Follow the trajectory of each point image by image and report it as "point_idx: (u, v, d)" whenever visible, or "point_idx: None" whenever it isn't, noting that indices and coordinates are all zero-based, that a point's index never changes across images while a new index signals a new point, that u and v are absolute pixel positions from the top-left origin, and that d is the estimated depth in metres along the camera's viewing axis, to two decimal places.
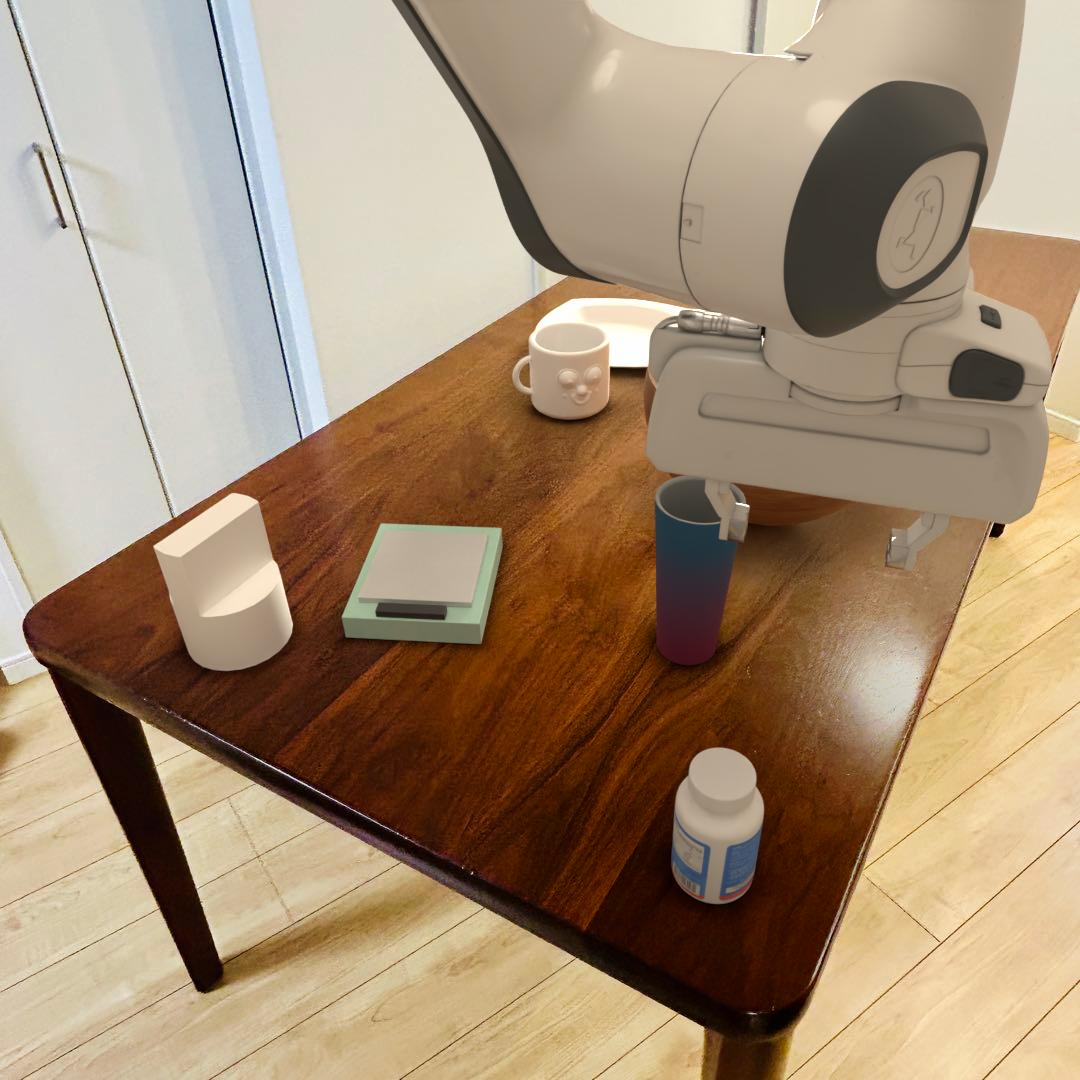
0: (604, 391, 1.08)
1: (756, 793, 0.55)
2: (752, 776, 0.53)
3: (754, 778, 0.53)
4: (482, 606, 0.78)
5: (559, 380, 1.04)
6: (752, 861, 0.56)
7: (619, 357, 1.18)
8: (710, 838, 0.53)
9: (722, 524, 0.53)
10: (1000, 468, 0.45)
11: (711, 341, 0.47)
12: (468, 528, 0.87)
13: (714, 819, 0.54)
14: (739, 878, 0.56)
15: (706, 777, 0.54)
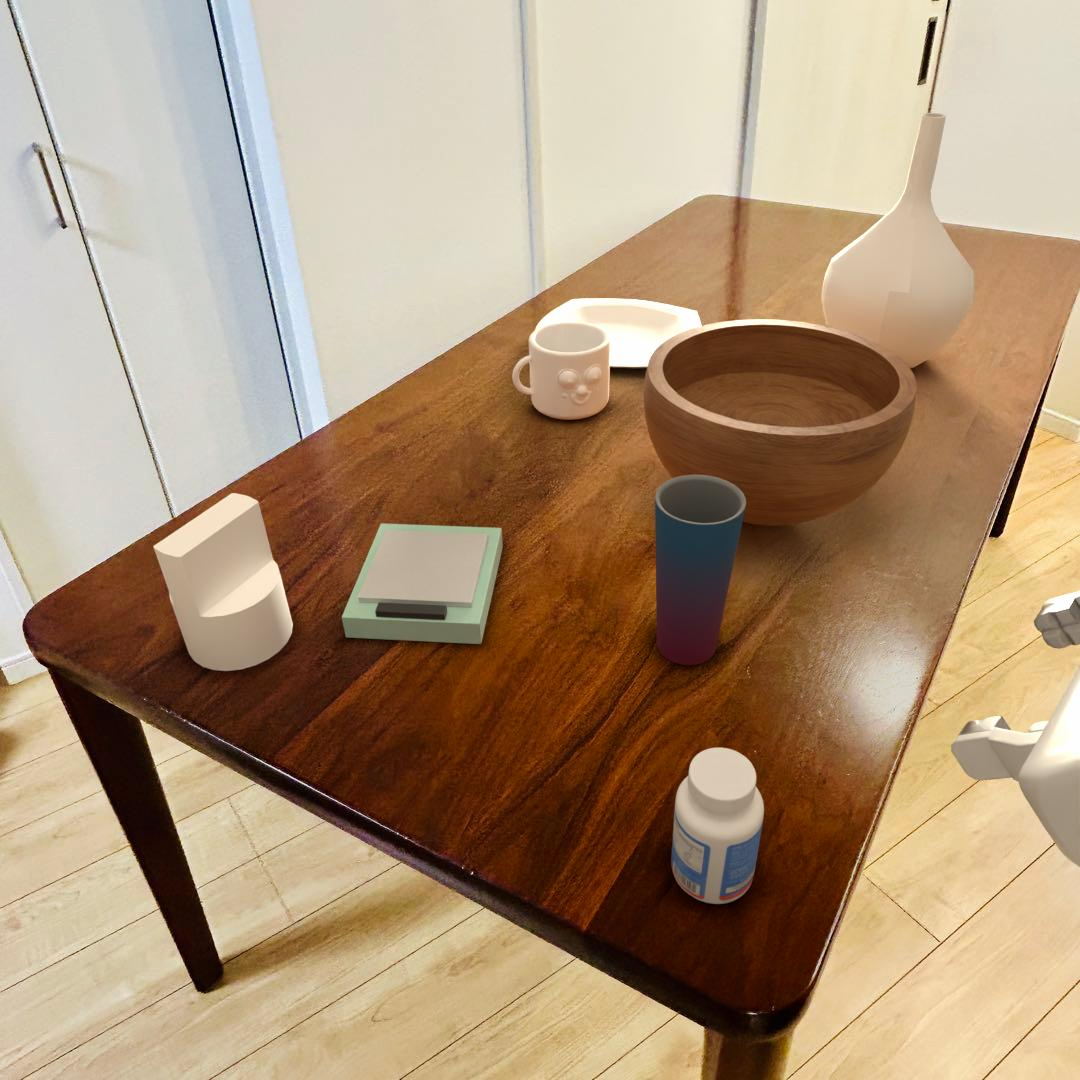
0: (604, 391, 1.08)
1: (756, 793, 0.55)
2: (752, 776, 0.53)
3: (754, 778, 0.53)
4: (482, 606, 0.78)
5: (559, 380, 1.04)
6: (752, 861, 0.56)
7: (619, 357, 1.18)
8: (710, 838, 0.53)
9: (1067, 595, 0.40)
10: None
11: None
12: (468, 528, 0.87)
13: (714, 819, 0.54)
14: (739, 878, 0.56)
15: (706, 777, 0.54)
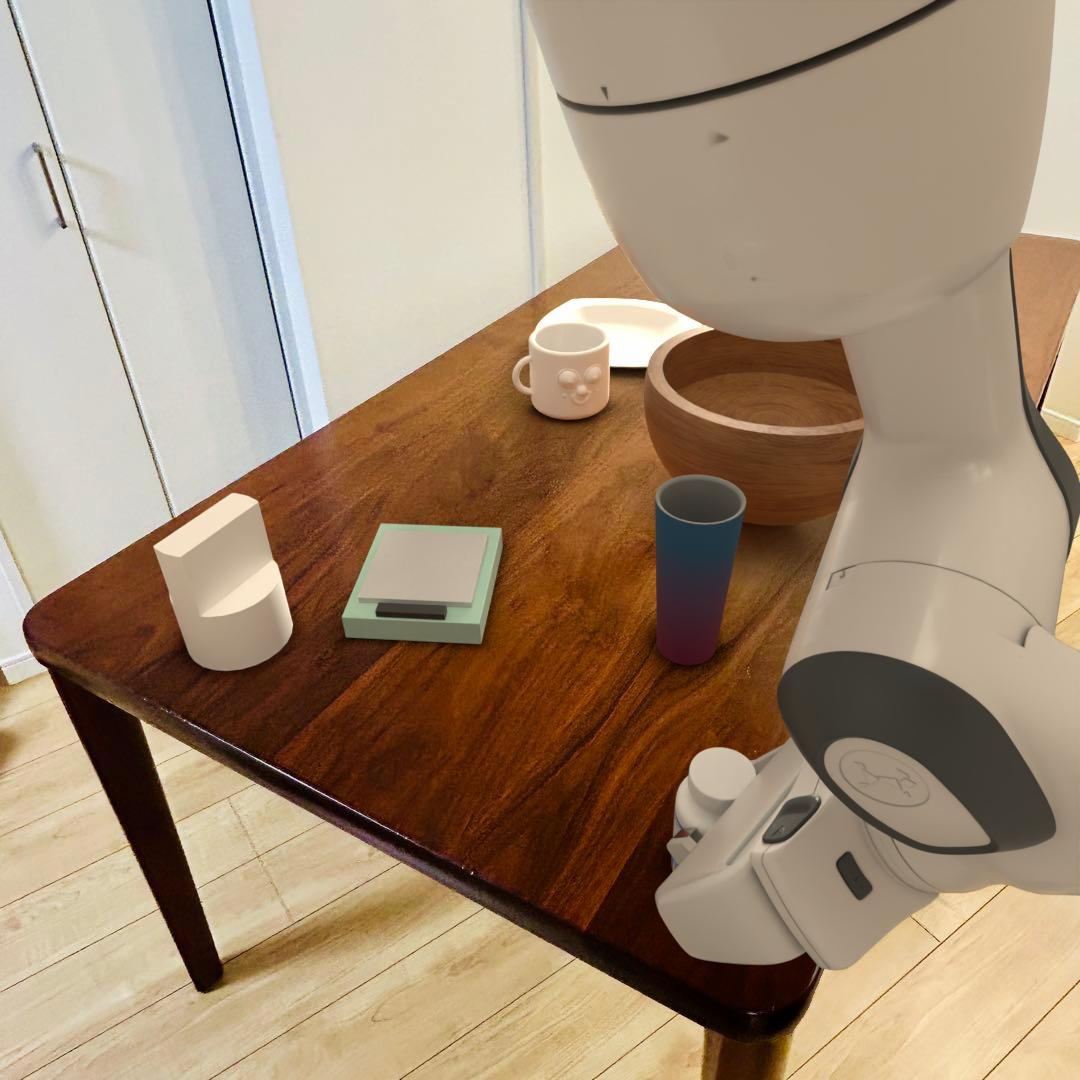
0: (604, 391, 1.08)
1: None
2: (752, 776, 0.53)
3: None
4: (482, 606, 0.78)
5: (559, 380, 1.04)
6: None
7: (619, 357, 1.18)
8: None
9: (750, 761, 0.58)
10: (707, 874, 0.45)
11: None
12: (468, 528, 0.87)
13: (714, 818, 0.54)
14: None
15: (706, 777, 0.54)
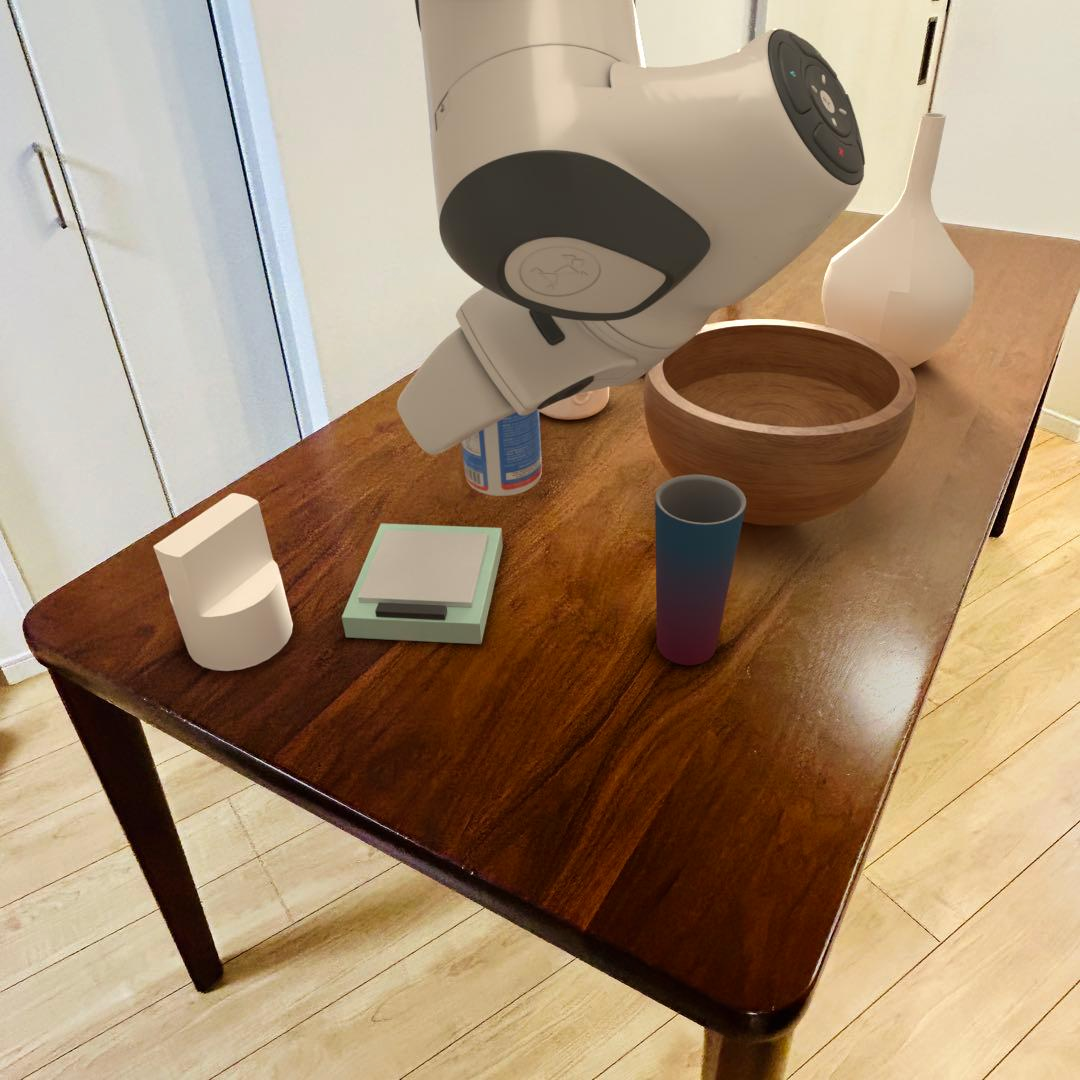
0: (604, 391, 1.08)
1: None
2: None
3: None
4: (482, 606, 0.78)
5: None
6: (529, 446, 0.60)
7: None
8: None
9: None
10: None
11: None
12: (468, 528, 0.87)
13: None
14: (516, 462, 0.60)
15: None
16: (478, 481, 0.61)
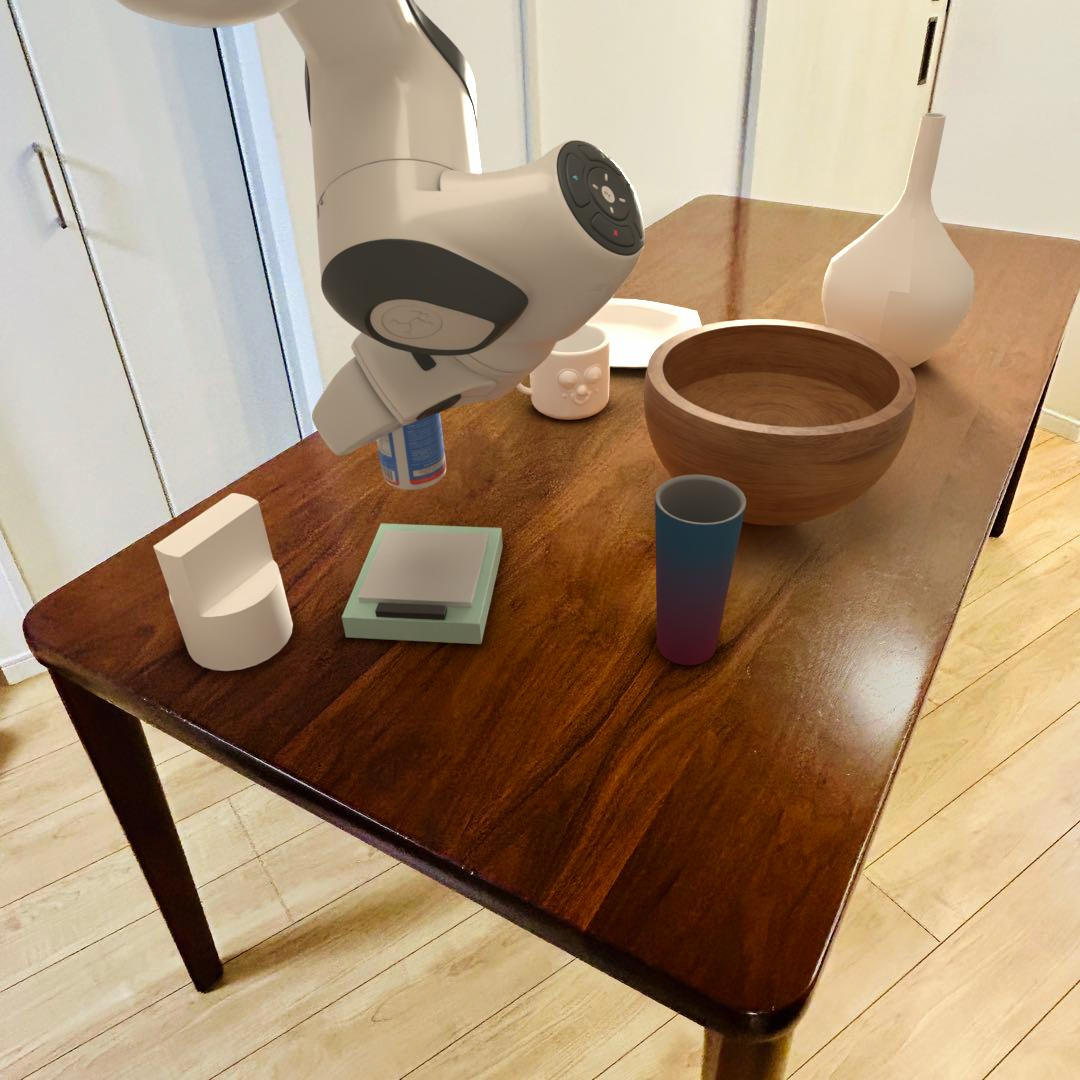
0: (604, 391, 1.08)
1: None
2: None
3: None
4: (482, 606, 0.78)
5: (559, 380, 1.04)
6: (432, 449, 0.73)
7: (619, 357, 1.18)
8: None
9: None
10: None
11: None
12: (468, 528, 0.87)
13: None
14: (421, 461, 0.73)
15: None
16: (391, 477, 0.74)
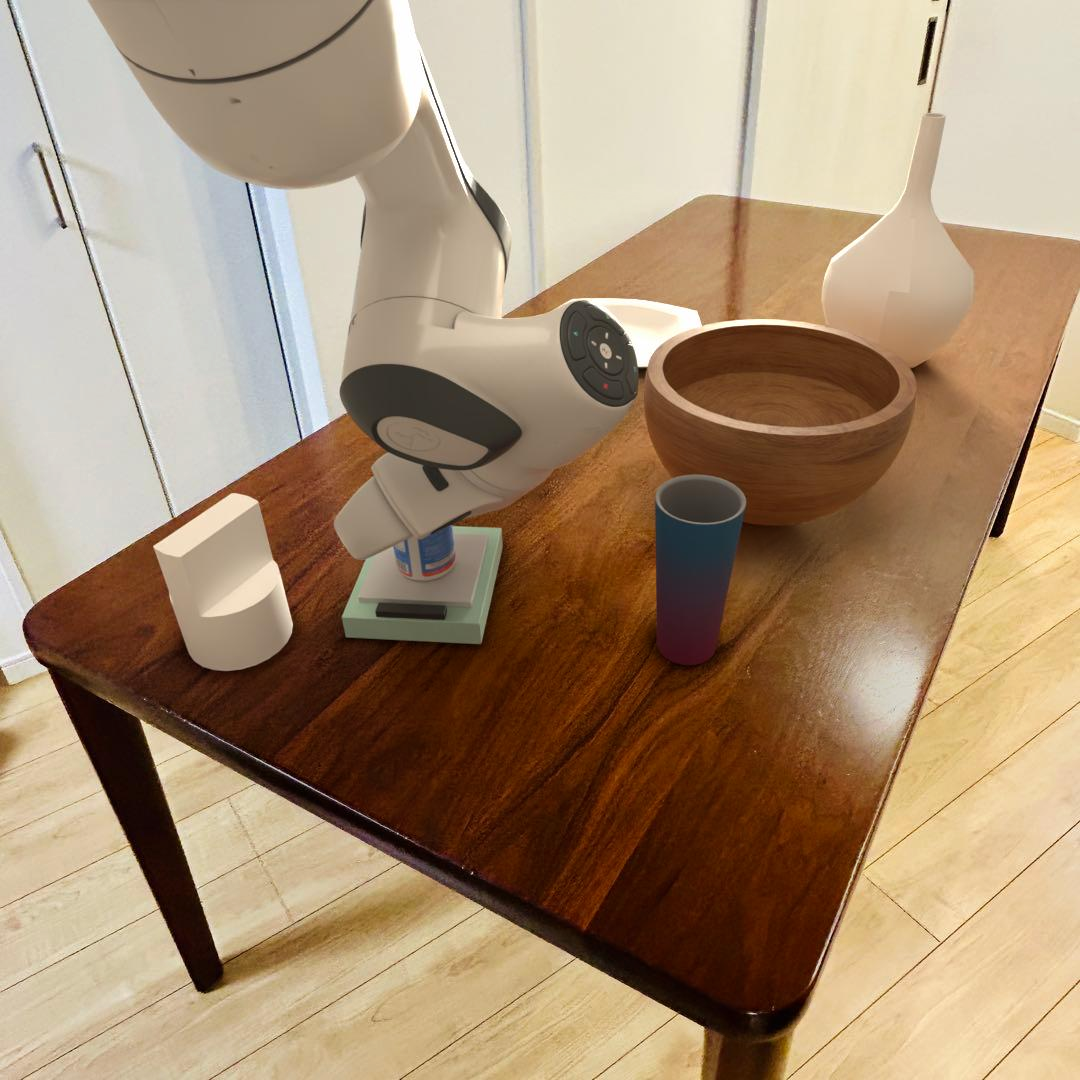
0: None
1: None
2: None
3: None
4: (482, 606, 0.78)
5: None
6: (443, 544, 0.78)
7: None
8: None
9: None
10: None
11: None
12: (468, 528, 0.87)
13: None
14: (433, 556, 0.78)
15: None
16: (405, 569, 0.80)
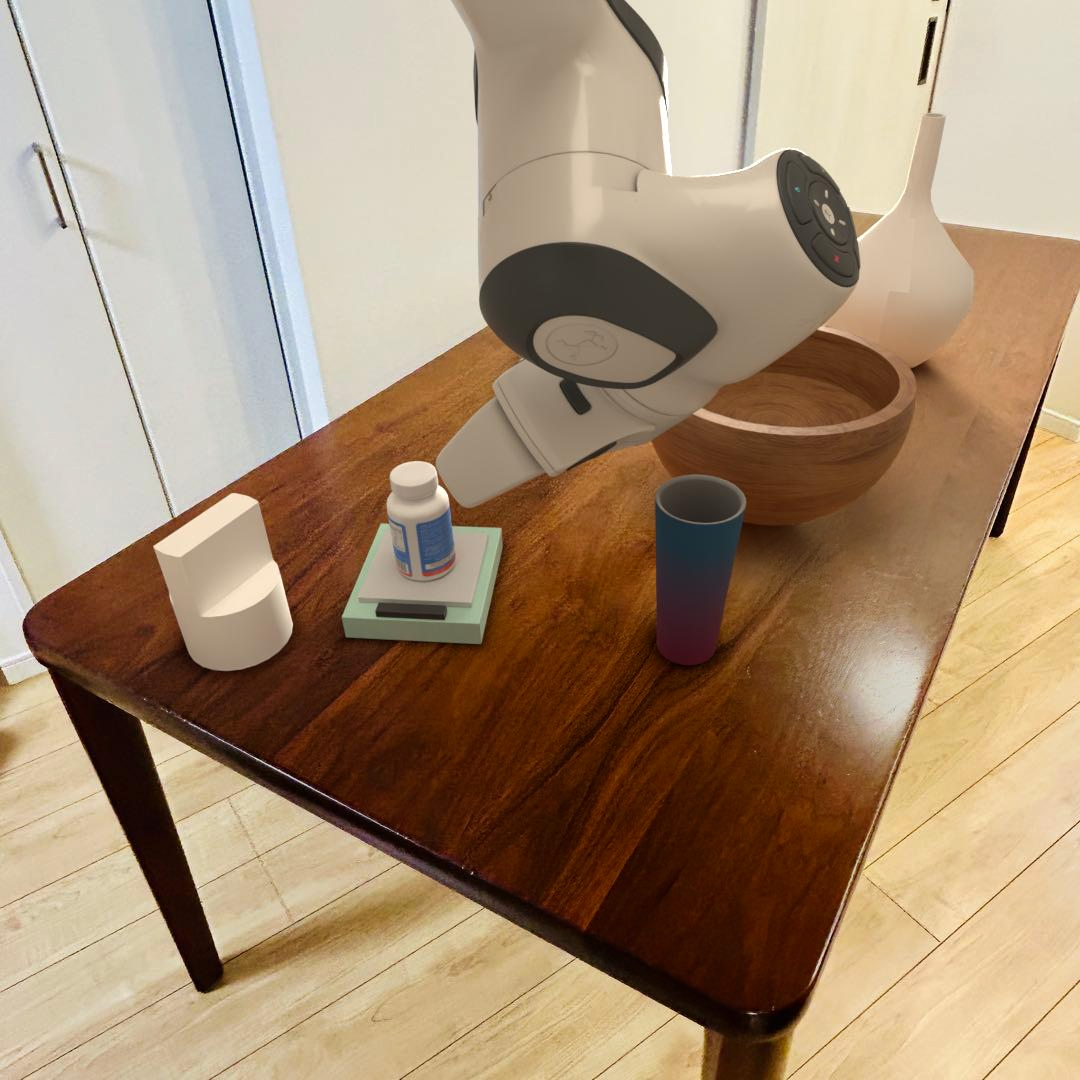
0: None
1: (442, 493, 0.78)
2: (432, 474, 0.76)
3: (433, 475, 0.76)
4: (482, 606, 0.78)
5: None
6: (443, 544, 0.78)
7: None
8: (403, 518, 0.76)
9: None
10: None
11: None
12: (468, 528, 0.87)
13: (406, 505, 0.76)
14: (433, 556, 0.78)
15: (400, 475, 0.76)
16: (405, 569, 0.80)
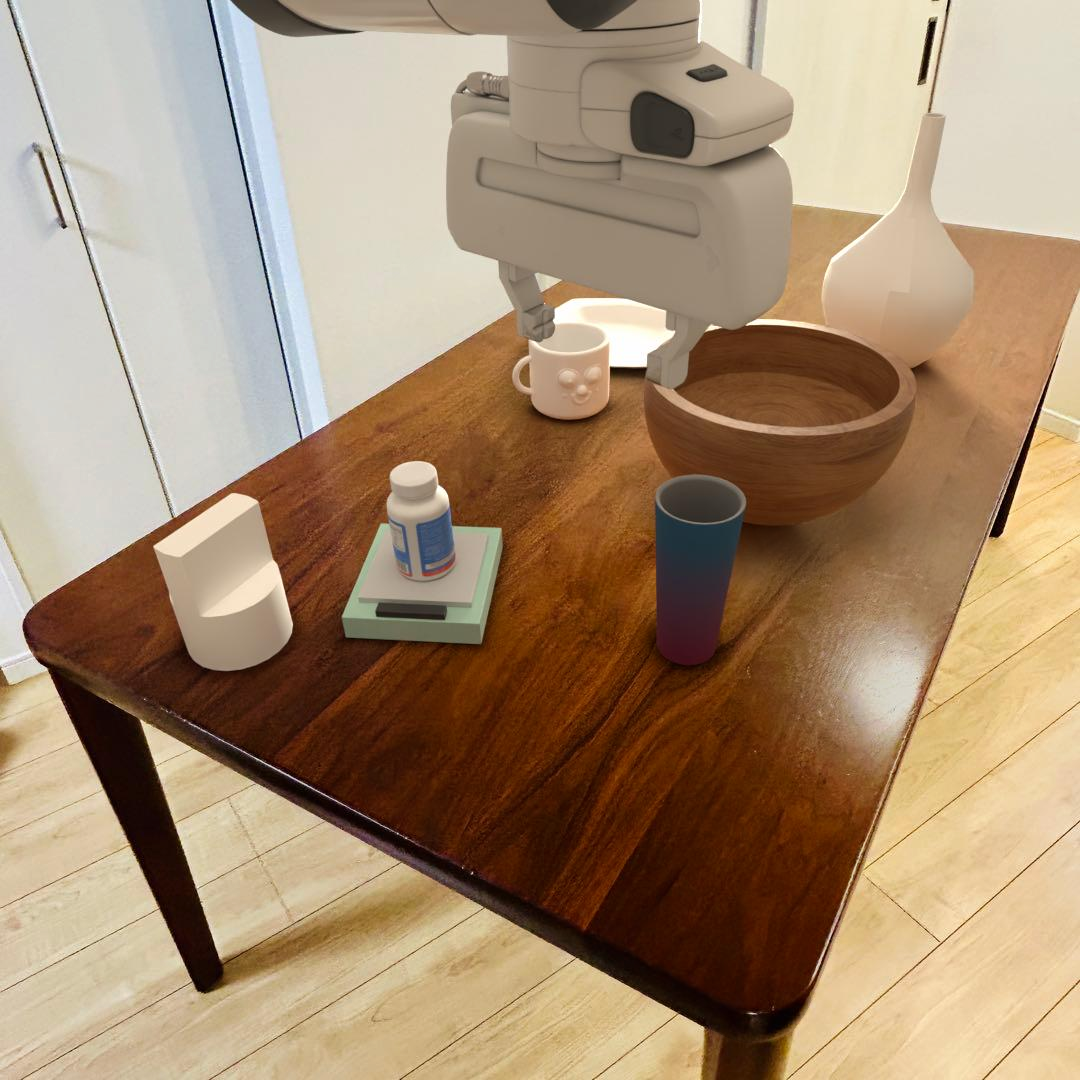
0: (604, 391, 1.08)
1: (442, 493, 0.78)
2: (432, 474, 0.76)
3: (433, 475, 0.76)
4: (482, 606, 0.78)
5: (559, 380, 1.04)
6: (443, 544, 0.78)
7: (619, 357, 1.18)
8: (403, 518, 0.76)
9: (517, 317, 0.52)
10: (711, 255, 0.41)
11: (491, 105, 0.47)
12: (468, 528, 0.87)
13: (406, 505, 0.76)
14: (433, 556, 0.78)
15: (400, 475, 0.76)
16: (405, 569, 0.80)
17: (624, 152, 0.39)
